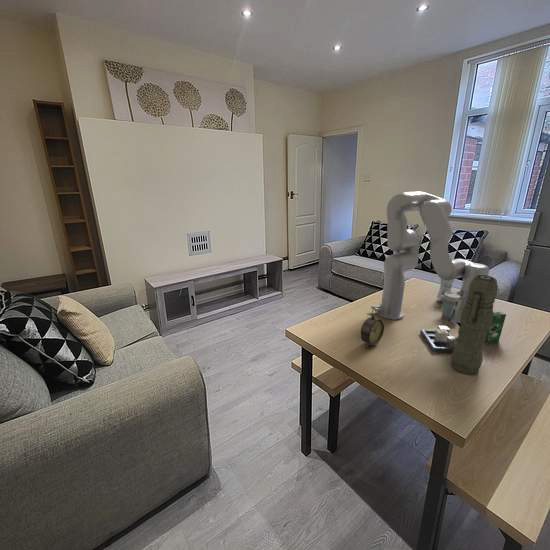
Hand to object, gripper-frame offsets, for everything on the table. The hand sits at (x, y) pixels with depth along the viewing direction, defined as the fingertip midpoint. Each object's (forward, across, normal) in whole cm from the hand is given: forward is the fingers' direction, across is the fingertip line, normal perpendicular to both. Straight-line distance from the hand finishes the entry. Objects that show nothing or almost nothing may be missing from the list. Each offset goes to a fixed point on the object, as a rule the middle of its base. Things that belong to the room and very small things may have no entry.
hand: (462, 336), depth 119 cm
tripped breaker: (+3, -8, 0) cm, 8 cm away
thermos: (+4, -6, -16) cm, 18 cm away
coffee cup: (+4, +6, +26) cm, 27 cm away
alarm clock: (+4, -37, -4) cm, 37 cm away
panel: (+4, -8, 0) cm, 9 cm away
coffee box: (+4, +13, +4) cm, 14 cm away
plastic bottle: (+4, +11, +46) cm, 48 cm away
